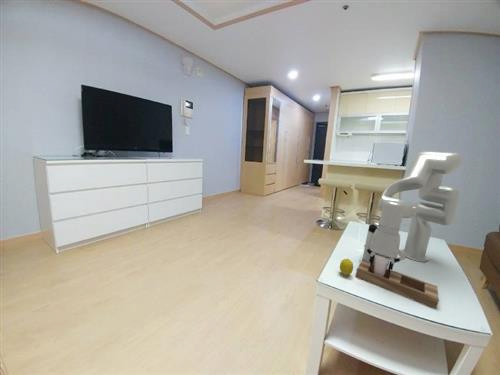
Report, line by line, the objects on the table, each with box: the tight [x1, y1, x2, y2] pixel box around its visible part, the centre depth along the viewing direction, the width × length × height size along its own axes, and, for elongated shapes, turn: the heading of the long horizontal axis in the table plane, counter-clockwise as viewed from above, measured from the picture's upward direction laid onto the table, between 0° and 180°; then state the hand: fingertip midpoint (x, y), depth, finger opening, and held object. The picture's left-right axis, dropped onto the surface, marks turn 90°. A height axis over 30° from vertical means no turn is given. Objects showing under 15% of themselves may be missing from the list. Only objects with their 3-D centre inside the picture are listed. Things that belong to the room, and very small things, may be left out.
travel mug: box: [361, 223, 378, 264], centre depth 110 cm, size 6×7×20 cm
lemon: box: [339, 258, 354, 276], centre depth 97 cm, size 6×6×8 cm
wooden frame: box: [355, 259, 440, 310], centre depth 92 cm, size 11×28×4 cm, turn 51°
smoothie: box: [374, 253, 391, 277], centre depth 94 cm, size 6×6×14 cm
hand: (380, 266), depth 95 cm, fingers closed on smoothie, 6 cm apart
